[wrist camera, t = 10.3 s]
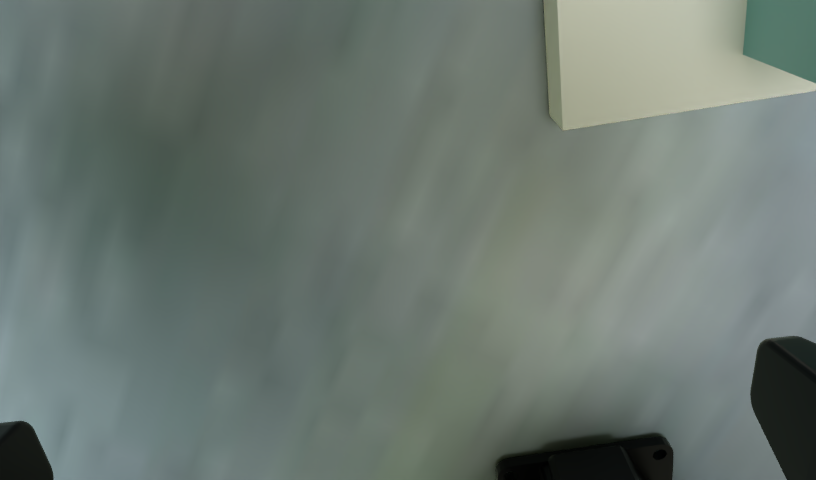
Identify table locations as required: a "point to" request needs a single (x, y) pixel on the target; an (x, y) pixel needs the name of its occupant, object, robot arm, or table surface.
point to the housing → (782, 35)
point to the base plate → (651, 60)
